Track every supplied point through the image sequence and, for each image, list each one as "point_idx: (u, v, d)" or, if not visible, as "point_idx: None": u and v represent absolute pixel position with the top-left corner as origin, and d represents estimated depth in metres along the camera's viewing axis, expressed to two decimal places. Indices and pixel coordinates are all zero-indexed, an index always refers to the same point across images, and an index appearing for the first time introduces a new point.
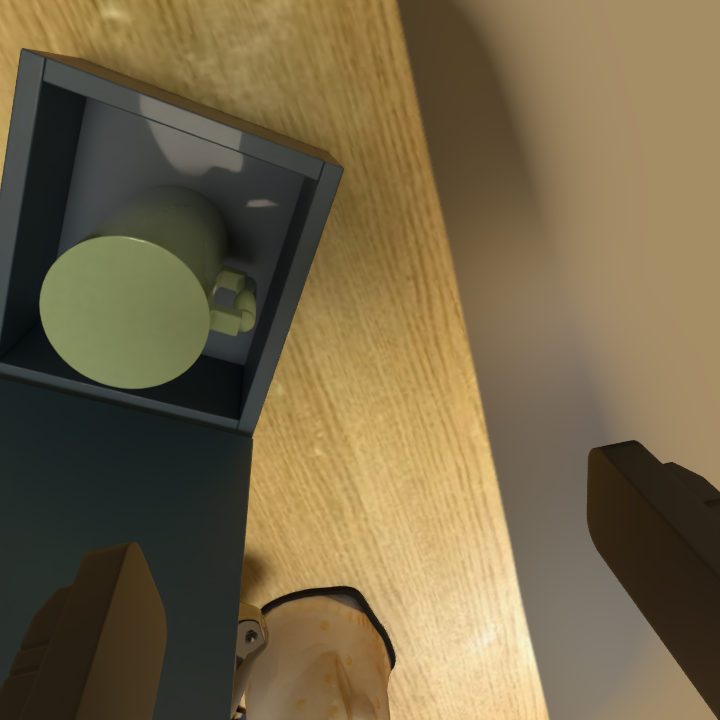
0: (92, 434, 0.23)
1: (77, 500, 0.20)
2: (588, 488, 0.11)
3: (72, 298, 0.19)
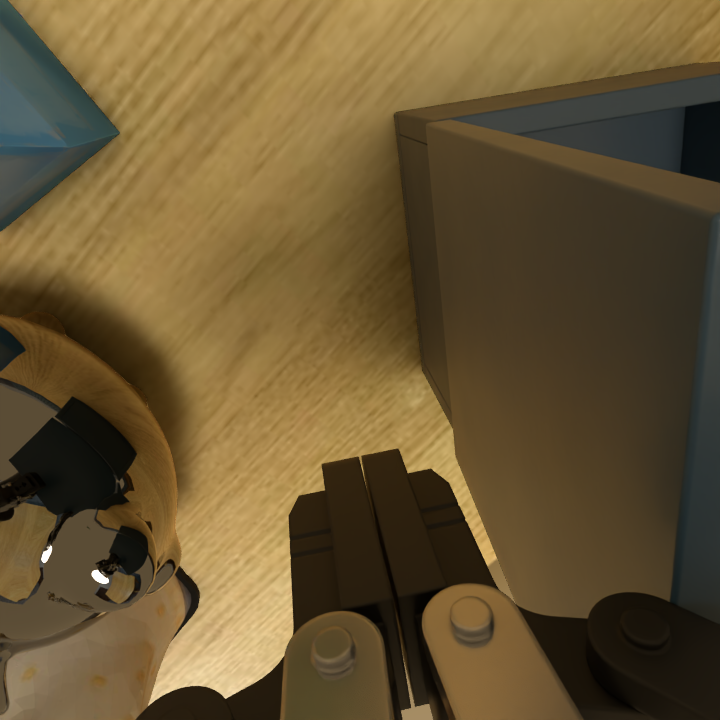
0: None
1: None
2: (367, 492, 0.12)
3: None
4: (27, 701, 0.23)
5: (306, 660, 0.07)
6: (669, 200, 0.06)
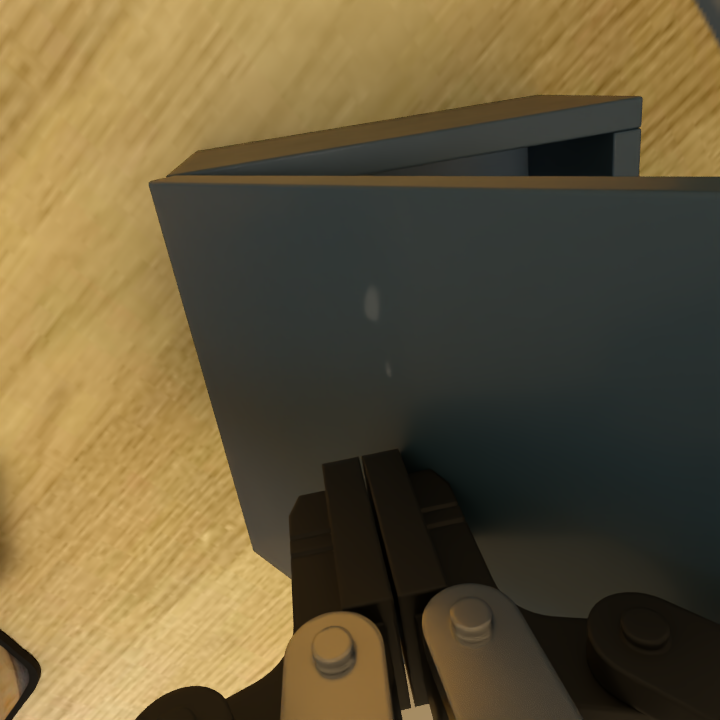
0: None
1: None
2: (366, 492, 0.12)
3: None
4: None
5: (306, 660, 0.07)
6: None
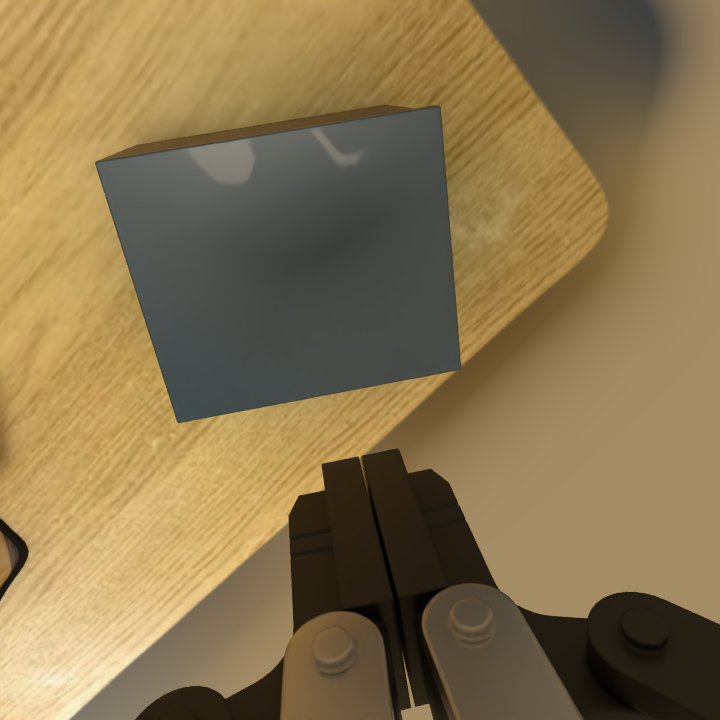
0: None
1: None
2: (367, 492, 0.12)
3: None
4: None
5: (306, 660, 0.07)
6: (421, 108, 0.23)
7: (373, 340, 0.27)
